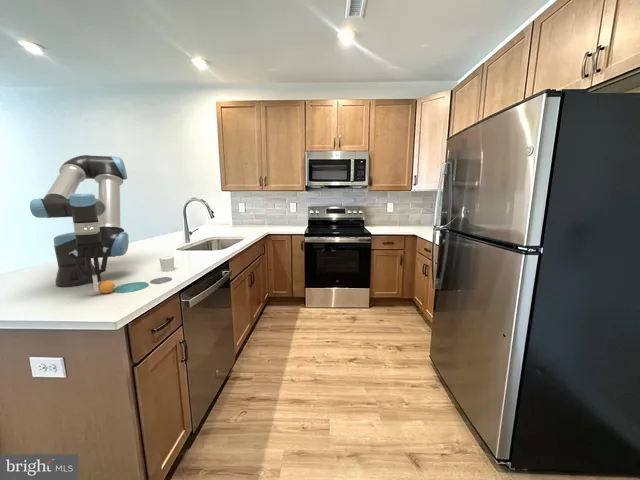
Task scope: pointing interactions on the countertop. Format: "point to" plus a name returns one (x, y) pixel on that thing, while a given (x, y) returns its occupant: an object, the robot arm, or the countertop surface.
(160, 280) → the disc
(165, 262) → the shot glass
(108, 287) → the ball
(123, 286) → the disc
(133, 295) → the countertop surface
